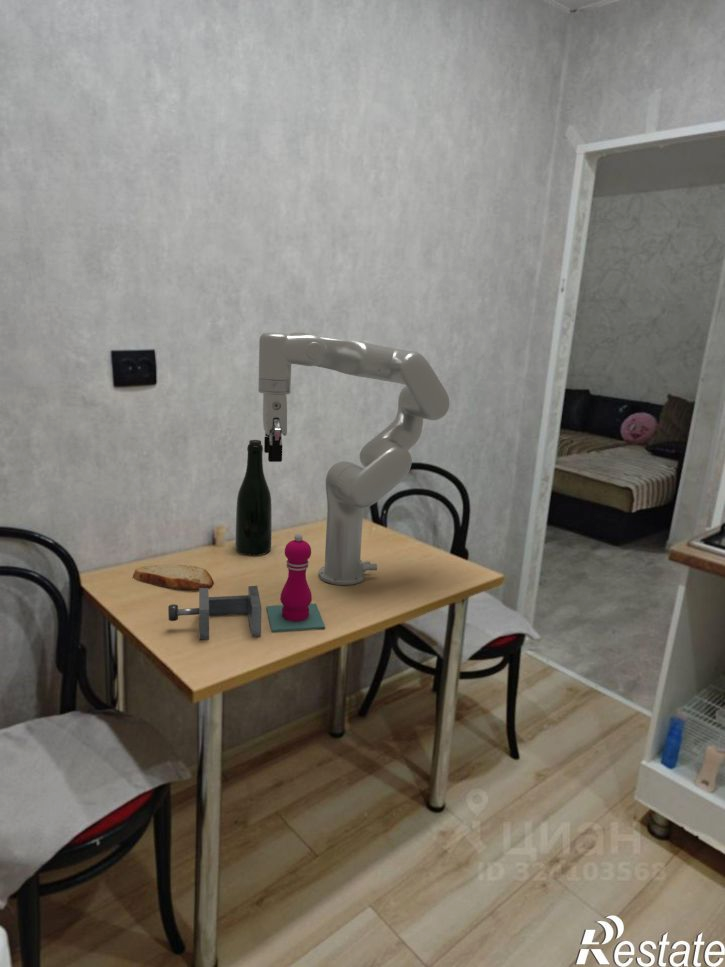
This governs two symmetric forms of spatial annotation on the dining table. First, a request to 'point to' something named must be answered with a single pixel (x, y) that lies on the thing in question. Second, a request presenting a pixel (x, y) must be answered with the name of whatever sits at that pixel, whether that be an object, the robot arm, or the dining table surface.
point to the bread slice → (175, 576)
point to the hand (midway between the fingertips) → (272, 456)
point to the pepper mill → (296, 581)
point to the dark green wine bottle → (254, 506)
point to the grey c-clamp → (223, 610)
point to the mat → (285, 625)
